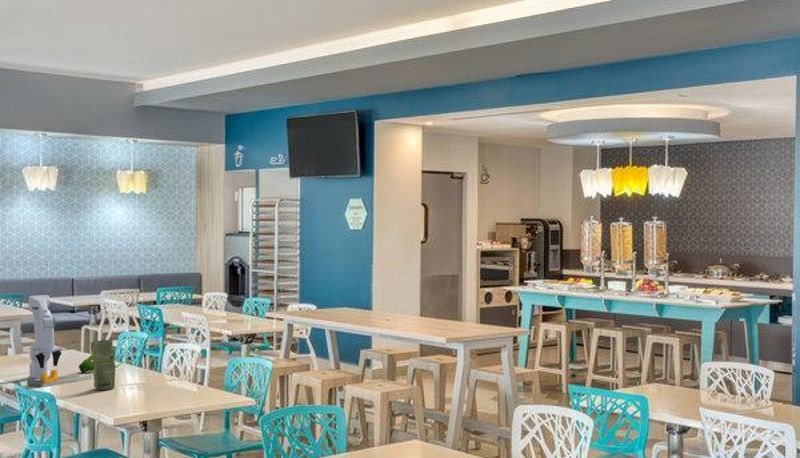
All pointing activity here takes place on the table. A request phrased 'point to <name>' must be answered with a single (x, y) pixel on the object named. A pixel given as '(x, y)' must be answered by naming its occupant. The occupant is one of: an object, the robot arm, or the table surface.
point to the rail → (40, 384)
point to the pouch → (103, 364)
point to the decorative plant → (87, 364)
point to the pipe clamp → (49, 377)
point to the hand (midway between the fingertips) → (48, 367)
